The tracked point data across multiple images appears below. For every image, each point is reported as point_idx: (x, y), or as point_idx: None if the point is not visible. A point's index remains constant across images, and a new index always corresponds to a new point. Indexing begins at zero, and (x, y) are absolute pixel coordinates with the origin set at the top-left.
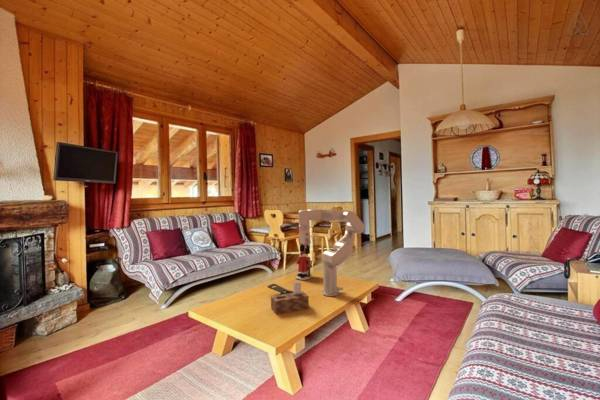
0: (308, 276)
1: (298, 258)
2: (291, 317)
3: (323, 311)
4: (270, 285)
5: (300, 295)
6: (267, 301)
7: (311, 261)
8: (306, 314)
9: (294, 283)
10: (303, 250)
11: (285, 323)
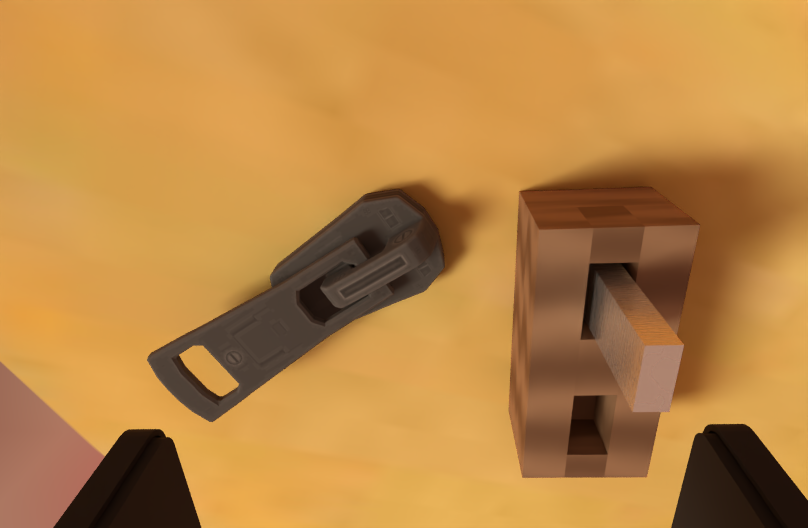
0: None
1: None
2: (721, 343)
3: (783, 94)
4: (195, 400)
5: (639, 285)
6: (371, 403)
7: None
8: (743, 241)
9: (667, 409)
10: (170, 478)
11: (778, 394)
